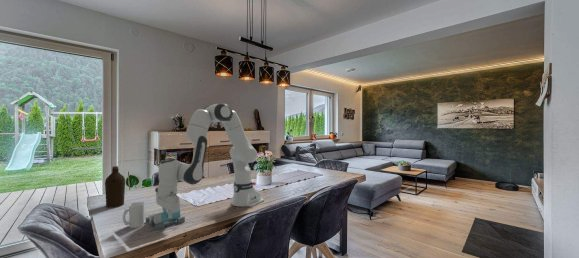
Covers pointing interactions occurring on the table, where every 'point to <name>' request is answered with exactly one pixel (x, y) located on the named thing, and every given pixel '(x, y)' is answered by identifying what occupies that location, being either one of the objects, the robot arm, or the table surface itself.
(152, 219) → the grey elongated block
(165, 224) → the cord comb
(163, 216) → the teal rectangular block
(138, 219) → the mug
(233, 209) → the table surface
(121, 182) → the olive oil
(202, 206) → the table surface
